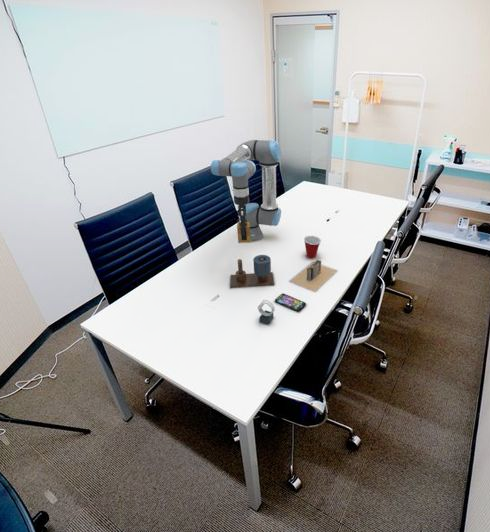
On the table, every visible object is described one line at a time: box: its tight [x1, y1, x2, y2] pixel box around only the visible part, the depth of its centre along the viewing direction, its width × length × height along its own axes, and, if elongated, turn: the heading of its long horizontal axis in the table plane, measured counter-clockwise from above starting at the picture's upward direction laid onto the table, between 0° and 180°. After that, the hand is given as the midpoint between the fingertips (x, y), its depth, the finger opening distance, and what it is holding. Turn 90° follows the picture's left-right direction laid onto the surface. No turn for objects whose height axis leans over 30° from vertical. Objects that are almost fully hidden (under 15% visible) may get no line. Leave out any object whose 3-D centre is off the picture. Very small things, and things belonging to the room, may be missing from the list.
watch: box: [257, 299, 276, 325], centre depth 157 cm, size 6×8×11 cm
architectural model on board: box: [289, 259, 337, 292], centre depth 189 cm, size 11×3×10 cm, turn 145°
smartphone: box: [274, 293, 307, 312], centre depth 170 cm, size 8×1×15 cm
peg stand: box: [229, 258, 275, 289], centre depth 183 cm, size 24×11×14 cm, turn 97°
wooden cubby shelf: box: [236, 221, 252, 244], centre depth 176 cm, size 6×6×9 cm
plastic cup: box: [303, 235, 322, 259], centre depth 208 cm, size 11×11×12 cm
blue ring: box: [252, 254, 272, 276], centre depth 182 cm, size 9×9×8 cm
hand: (244, 236), depth 177 cm, fingers closed on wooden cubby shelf, 6 cm apart
